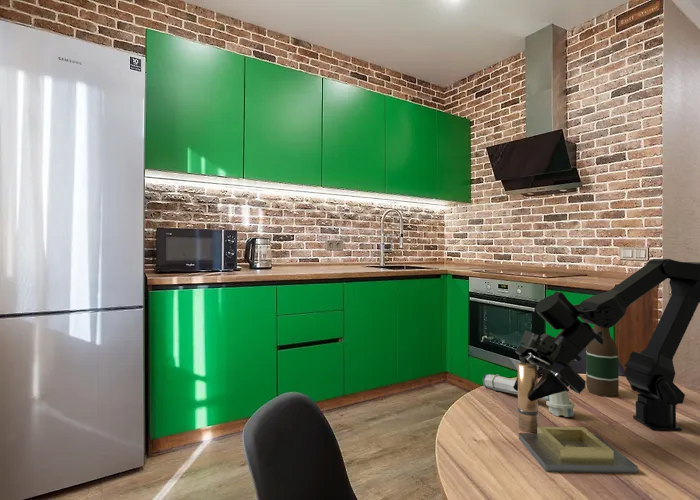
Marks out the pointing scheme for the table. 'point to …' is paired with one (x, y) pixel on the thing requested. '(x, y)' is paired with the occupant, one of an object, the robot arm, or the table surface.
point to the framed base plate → (574, 451)
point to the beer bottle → (602, 366)
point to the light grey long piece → (555, 402)
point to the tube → (525, 406)
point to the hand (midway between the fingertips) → (521, 394)
